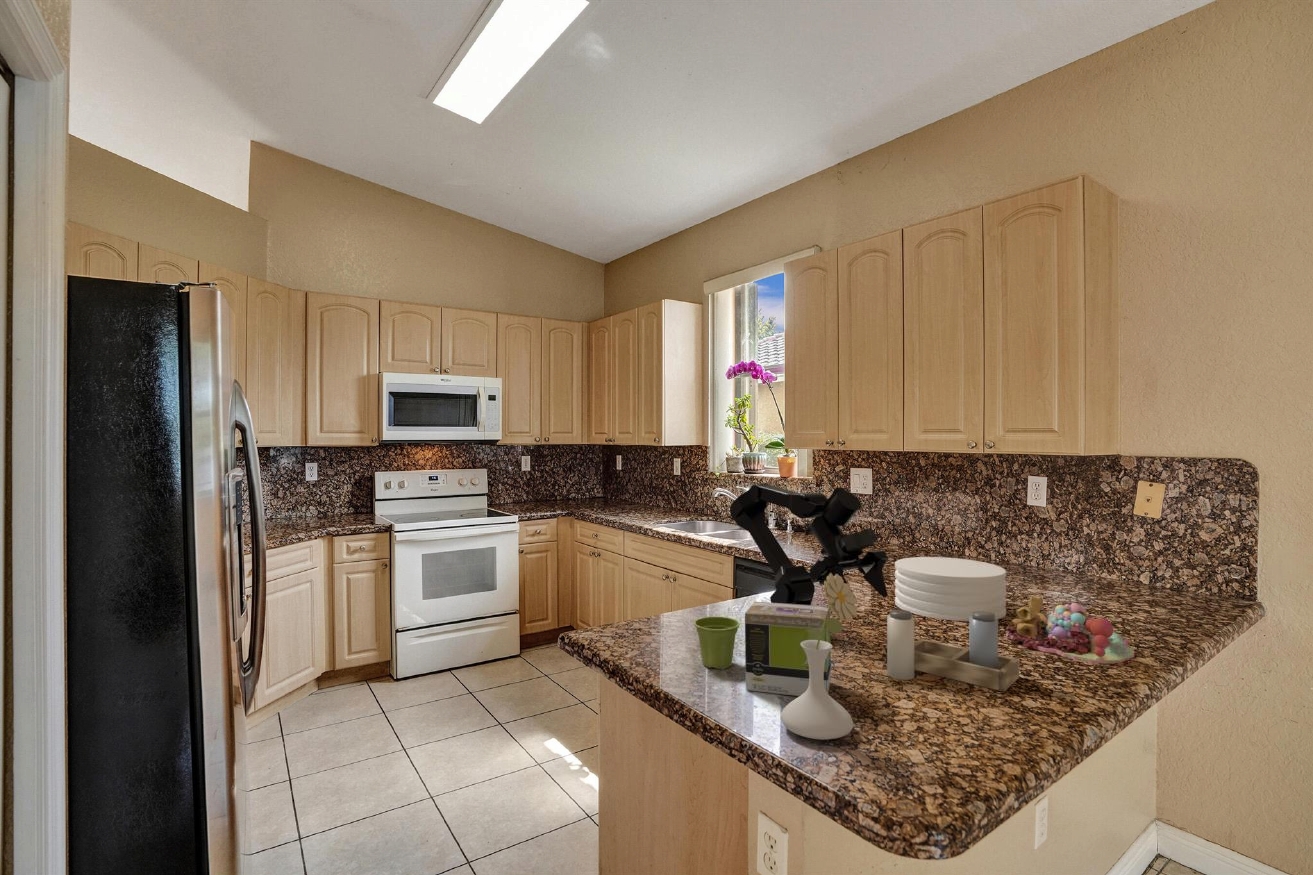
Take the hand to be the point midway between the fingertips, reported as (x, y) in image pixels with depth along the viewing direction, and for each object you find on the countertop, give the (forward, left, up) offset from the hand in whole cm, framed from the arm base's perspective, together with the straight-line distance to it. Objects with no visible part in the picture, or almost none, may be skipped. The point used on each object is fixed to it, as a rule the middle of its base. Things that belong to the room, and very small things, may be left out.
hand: (870, 599), depth 134 cm
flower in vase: (-24, -26, -14) cm, 38 cm away
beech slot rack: (+15, -8, -13) cm, 22 cm away
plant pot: (-32, +6, -14) cm, 35 cm away
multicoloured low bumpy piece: (+51, +3, -14) cm, 53 cm away
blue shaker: (+18, -12, -13) cm, 25 cm away
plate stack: (+44, +37, -14) cm, 59 cm away
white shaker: (+2, -7, -13) cm, 15 cm away
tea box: (-22, -8, -14) cm, 27 cm away
